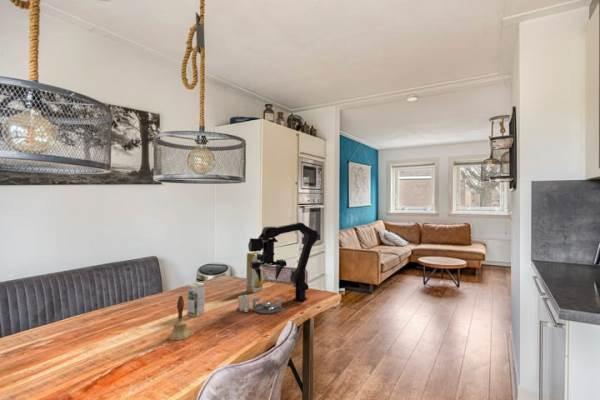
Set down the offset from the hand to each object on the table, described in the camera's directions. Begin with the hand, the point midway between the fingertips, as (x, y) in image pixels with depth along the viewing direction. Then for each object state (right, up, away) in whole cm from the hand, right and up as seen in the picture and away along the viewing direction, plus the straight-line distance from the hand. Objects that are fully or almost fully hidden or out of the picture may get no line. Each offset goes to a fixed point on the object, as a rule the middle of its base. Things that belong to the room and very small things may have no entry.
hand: (267, 280), depth 167 cm
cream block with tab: (-11, -12, -9) cm, 19 cm away
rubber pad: (-11, -12, -9) cm, 19 cm away
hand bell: (-31, -12, -40) cm, 53 cm away
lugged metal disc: (0, -13, -8) cm, 15 cm away
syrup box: (-33, -12, -16) cm, 39 cm away
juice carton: (-11, -13, +24) cm, 29 cm away
